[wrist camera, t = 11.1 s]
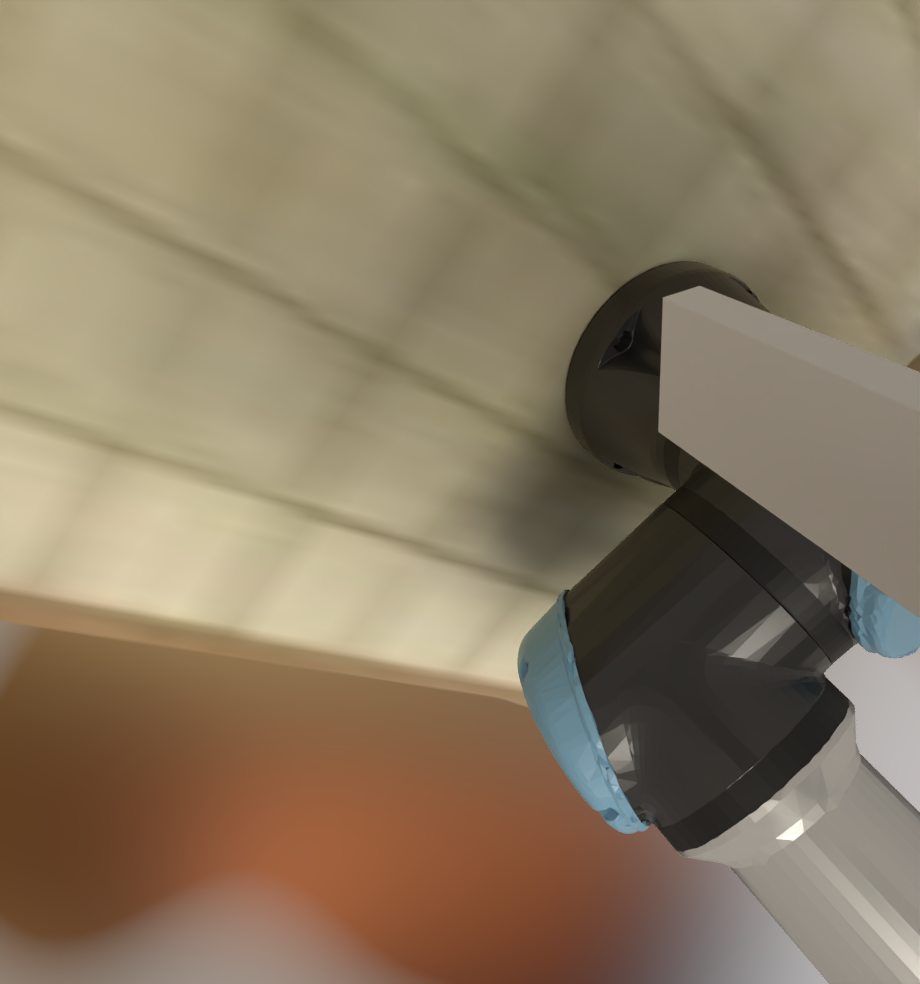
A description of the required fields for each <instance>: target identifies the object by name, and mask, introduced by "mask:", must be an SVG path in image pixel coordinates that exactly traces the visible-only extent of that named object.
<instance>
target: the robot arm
mask: <svg viewBox="0 0 920 984" xmlns="http://www.w3.org/2000/svg"><path fill="white" fill-rule="evenodd" d="M566 409H567V415H568V419H569V423H570V426H571V428H572V430H573V432H574V434H575V436H576V438H577V439H578V440H579V442H580V443H581V444H582V445H583V446H584V447H585V448H586V449H587V450H588V451H589V452H590V453H592V454H593V455H594V456H595V457H596V458H597V459H599V460H600V461H601V462H602V463H604V464H605V465H607V466H608V467H610V468H612V469H614V470H616V471H619V472H622V473H625V474H629V475H635V476H639V477H641V478H643V479H645V480H648V481H651V482H654V483H657V484H660V485H663V486H667V487H670V488H673V489H674V490H676V492H675V493H673V494H672V495H671V496H670V497H669V498H668V499H667V500H666V501H665V502H664V503H663V504H661V505H660V506H659V507H658V508H657V509H656V510H655V511H654V512H653V513H652V514H650V515H649V516H648V517H647V518H646V519H645V520H644V521H643V522H642V523H641V524H640V525H639V526H638V527H637V528H636V529H635V530H634V531H633V532H631V533H630V534H629V535H628V536H627V537H626V538H625V539H624V540H623V541H622V542H621V543H620V544H619V545H618V546H617V547H616V548H615V549H614V550H613V551H611V552H610V553H609V554H608V555H607V556H606V557H605V558H604V559H603V560H602V561H601V562H600V563H599V564H598V565H597V566H596V567H595V568H594V569H592V570H591V571H590V572H589V573H588V574H587V575H586V576H585V577H584V578H583V579H582V580H581V581H580V582H579V583H578V584H576V585H575V586H574V587H573V588H572V589H571V590H564V591H563V592H562V593H561V594H560V595H559V596H558V599H557V602H556V603H555V604H554V605H553V606H552V608H551V609H550V610H549V611H548V612H547V613H546V614H545V615H544V616H543V617H542V618H541V619H540V620H539V621H538V622H537V623H536V624H535V625H534V626H533V627H532V628H531V629H530V630H529V632H528V633H527V634H526V635H525V637H524V638H523V640H522V642H521V645H520V648H519V652H518V673H519V678H520V682H521V685H522V688H523V693H524V696H525V699H526V701H527V704H528V706H529V709H530V711H531V713H532V716H533V718H534V720H535V722H536V724H537V726H538V728H539V730H540V732H541V734H542V736H543V738H544V740H545V741H546V743H547V745H548V747H549V749H550V750H551V752H552V754H553V755H554V757H555V758H556V760H557V762H558V763H559V765H560V766H561V768H562V769H563V771H564V772H565V774H566V775H567V777H568V778H569V780H570V781H571V782H572V784H573V785H574V787H575V788H576V789H577V791H578V792H579V793H580V795H582V797H583V798H584V800H585V801H586V802H587V803H588V804H589V805H590V806H591V807H592V808H593V809H594V810H597V811H599V812H600V814H601V815H602V817H603V818H604V820H605V821H606V822H607V823H608V824H609V825H610V826H611V827H613V828H614V829H616V830H617V831H620V832H622V833H628V834H629V833H634V832H637V831H645V830H646V829H647V828H648V827H649V826H650V825H651V823H653V824H654V825H655V826H656V827H657V828H658V829H659V830H660V831H661V833H662V834H663V835H664V836H665V837H666V839H667V840H668V841H669V842H670V843H671V845H672V846H673V847H674V848H675V850H676V851H677V852H678V853H679V854H680V855H681V856H683V857H687V858H694V859H699V860H706V861H712V862H718V863H723V864H725V865H727V866H729V867H730V868H731V869H732V870H733V871H734V873H735V874H736V875H737V876H738V877H739V879H740V880H741V881H742V882H743V883H744V884H745V886H746V887H747V888H748V889H749V890H750V892H751V893H752V894H753V895H754V896H755V897H756V899H757V900H758V901H759V902H760V903H761V904H762V906H763V907H764V908H765V909H766V910H767V911H768V913H769V914H770V915H771V916H772V917H773V918H774V920H775V921H776V922H777V923H778V924H779V926H780V927H782V929H783V930H784V931H785V933H786V934H787V935H788V936H789V937H790V938H791V940H792V941H793V942H794V943H795V944H796V945H797V947H798V948H799V949H800V950H801V951H802V952H803V954H804V955H805V956H806V957H807V958H808V960H809V961H810V962H811V963H812V964H813V965H814V966H815V968H816V969H817V970H818V971H819V972H820V973H821V975H822V976H823V977H824V978H825V979H826V981H827V982H828V983H829V984H920V812H919V811H917V809H916V808H914V807H913V806H912V805H911V804H910V803H909V802H908V801H907V800H906V799H905V798H904V797H903V796H902V795H901V794H900V793H899V792H898V791H897V790H896V789H895V788H894V787H893V786H892V785H891V784H890V783H889V782H888V781H887V780H886V779H885V778H884V777H883V776H882V775H881V774H880V773H879V772H878V771H877V770H876V769H875V768H874V767H873V766H872V765H871V764H870V763H869V762H868V761H867V760H866V759H865V758H864V757H863V756H862V755H861V754H860V753H859V750H858V747H857V744H856V730H855V708H854V705H853V703H852V702H851V701H850V700H849V699H848V698H847V697H846V696H845V695H844V694H843V693H842V692H841V691H839V690H838V689H837V688H836V687H835V686H834V685H833V684H832V683H831V682H830V681H829V680H828V679H827V678H826V677H825V675H824V672H825V671H826V670H827V669H828V668H829V667H830V666H831V665H832V664H833V663H834V662H835V661H836V660H837V659H838V658H840V657H841V656H842V655H843V654H844V653H845V652H847V651H848V650H849V649H850V648H851V647H853V646H854V645H855V644H857V643H859V644H860V645H861V646H862V647H863V648H864V649H865V650H867V651H868V652H872V653H878V654H880V655H881V656H883V657H888V658H901V657H904V656H908V655H910V654H913V653H915V652H916V651H917V650H918V648H919V647H920V372H918V371H915V370H913V369H910V368H908V367H905V366H903V365H900V364H898V363H895V362H893V361H890V360H887V359H885V358H882V357H880V356H877V355H875V354H872V353H870V352H867V351H865V350H862V349H859V348H857V347H854V346H852V345H849V344H847V343H844V342H842V341H839V340H837V339H834V338H831V337H829V336H826V335H824V334H821V333H819V332H816V331H814V330H811V329H808V328H806V327H803V326H801V325H798V324H796V323H793V322H791V321H788V320H786V319H783V318H780V317H778V316H775V315H773V314H771V313H770V312H769V311H768V310H767V309H766V308H765V307H764V306H763V305H762V304H761V303H760V301H759V300H758V298H757V296H756V295H755V294H754V293H753V292H752V291H751V289H750V288H749V287H748V286H747V285H746V284H745V283H744V282H742V281H741V280H739V279H738V278H736V277H735V276H733V275H731V274H729V273H727V272H724V271H721V270H719V269H716V268H713V267H711V266H708V265H705V264H702V263H697V262H676V263H671V264H667V265H663V266H660V267H657V268H654V269H652V270H650V271H648V272H646V273H644V274H642V275H640V276H639V277H637V278H635V279H634V280H632V281H631V282H629V283H628V284H627V285H625V286H624V287H623V288H622V289H620V290H619V291H618V292H617V293H616V294H615V295H614V296H613V297H612V298H611V299H610V300H609V301H608V302H607V303H606V304H605V305H604V306H603V307H602V308H601V310H600V311H599V312H598V313H597V315H596V316H595V317H594V319H593V320H592V322H591V323H590V325H589V326H588V328H587V329H586V331H585V333H584V335H583V336H582V338H581V340H580V342H579V344H578V347H577V349H576V351H575V354H574V356H573V359H572V362H571V366H570V370H569V374H568V379H567V386H566Z"/></svg>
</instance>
